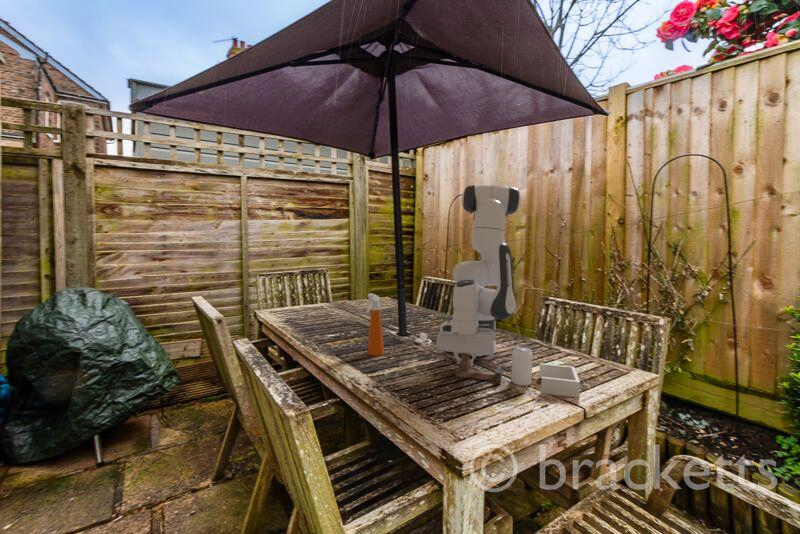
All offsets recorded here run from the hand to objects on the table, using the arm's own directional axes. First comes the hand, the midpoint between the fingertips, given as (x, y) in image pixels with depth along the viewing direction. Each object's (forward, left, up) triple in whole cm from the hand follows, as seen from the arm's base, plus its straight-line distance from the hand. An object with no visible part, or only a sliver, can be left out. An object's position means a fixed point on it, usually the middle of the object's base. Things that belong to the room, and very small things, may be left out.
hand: (464, 364), depth 131 cm
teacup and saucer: (-28, +37, -5) cm, 47 cm away
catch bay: (+31, 0, -4) cm, 31 cm away
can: (+19, 0, -4) cm, 20 cm away
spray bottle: (-40, +12, -4) cm, 42 cm away
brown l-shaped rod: (+4, 0, -4) cm, 6 cm away
